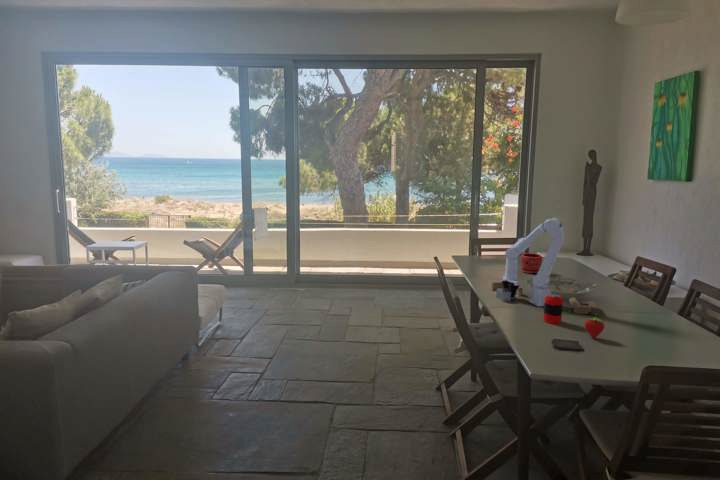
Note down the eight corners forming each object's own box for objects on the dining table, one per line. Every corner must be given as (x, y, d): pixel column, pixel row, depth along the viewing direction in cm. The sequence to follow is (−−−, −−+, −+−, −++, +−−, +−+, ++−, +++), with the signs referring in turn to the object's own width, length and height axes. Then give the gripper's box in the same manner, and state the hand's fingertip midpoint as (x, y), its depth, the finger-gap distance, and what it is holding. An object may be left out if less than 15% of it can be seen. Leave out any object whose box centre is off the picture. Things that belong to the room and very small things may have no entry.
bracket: (511, 297, 260) (512, 288, 259) (519, 301, 252) (519, 291, 252) (496, 297, 259) (496, 288, 258) (503, 301, 251) (503, 292, 250)
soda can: (550, 324, 215) (552, 298, 214) (539, 319, 223) (541, 294, 221) (564, 323, 217) (567, 297, 216) (553, 318, 225) (555, 293, 223)
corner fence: (521, 295, 263) (522, 287, 263) (502, 296, 261) (502, 288, 261) (510, 289, 276) (511, 282, 275) (491, 290, 274) (492, 282, 273)
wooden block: (599, 308, 230) (591, 298, 247) (575, 306, 232) (569, 296, 249) (599, 315, 230) (591, 305, 247) (574, 313, 233) (568, 303, 250)
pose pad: (494, 292, 270) (494, 291, 270) (509, 291, 272) (509, 291, 272) (502, 297, 260) (502, 296, 260) (518, 296, 261) (518, 296, 261)
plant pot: (515, 271, 326) (517, 253, 324) (530, 269, 332) (532, 252, 330) (530, 275, 314) (531, 257, 313) (545, 273, 320) (546, 256, 318)
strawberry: (581, 334, 203) (583, 311, 201) (600, 336, 202) (602, 312, 200) (585, 339, 197) (587, 316, 196) (605, 341, 196) (607, 317, 195)
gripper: (497, 267, 262) (496, 292, 264) (510, 273, 248) (508, 299, 250) (510, 267, 263) (508, 292, 265) (523, 273, 249) (521, 299, 251)
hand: (509, 295), depth 258 cm, fingers open, 5 cm apart
